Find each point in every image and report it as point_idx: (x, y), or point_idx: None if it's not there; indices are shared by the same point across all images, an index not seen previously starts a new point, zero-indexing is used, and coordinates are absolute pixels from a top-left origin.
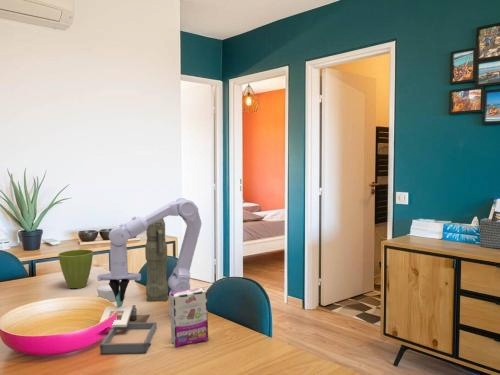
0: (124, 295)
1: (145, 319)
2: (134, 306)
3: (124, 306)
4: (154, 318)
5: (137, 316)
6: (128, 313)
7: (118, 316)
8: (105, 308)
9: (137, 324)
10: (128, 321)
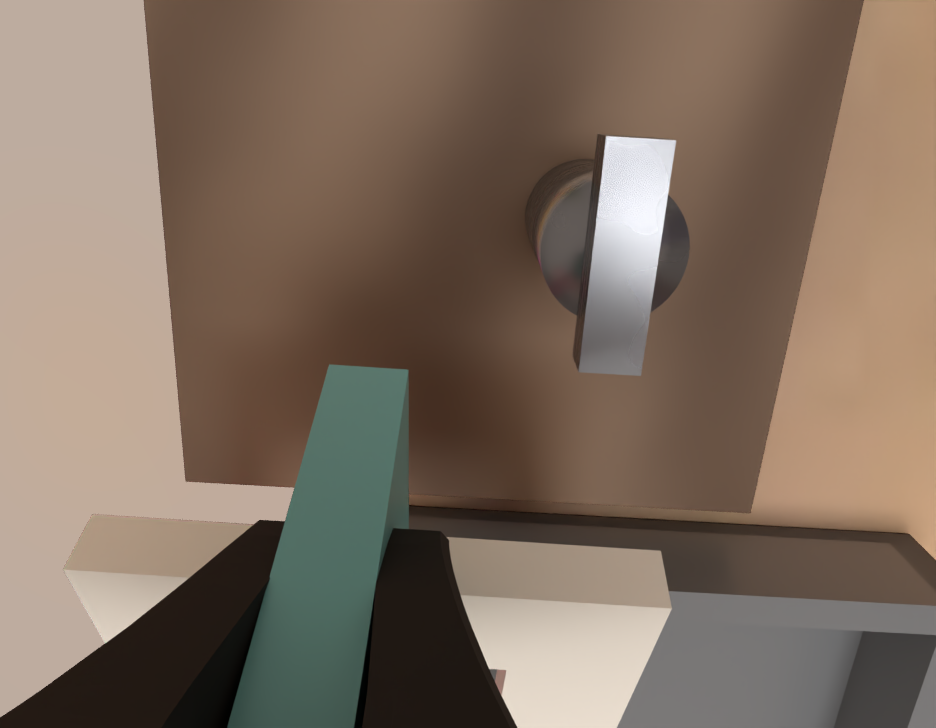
0: (458, 597)
1: (782, 213)
2: (657, 235)
3: (493, 605)
4: (917, 40)
5: (635, 43)
6: (598, 716)
7: (281, 3)
8: (86, 607)
9: (701, 614)
10: (512, 277)
